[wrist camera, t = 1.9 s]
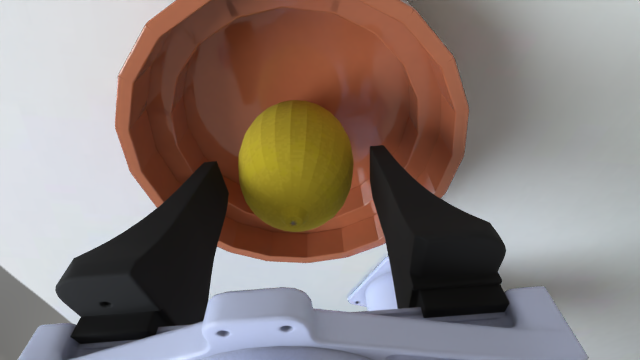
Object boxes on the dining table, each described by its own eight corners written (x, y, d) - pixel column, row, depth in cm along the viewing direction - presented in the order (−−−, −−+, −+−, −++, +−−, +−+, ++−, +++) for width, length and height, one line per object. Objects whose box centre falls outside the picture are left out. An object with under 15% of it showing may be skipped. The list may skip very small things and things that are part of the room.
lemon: (262, 61, 17) (235, 152, 11) (361, 93, 18) (388, 190, 12) (242, 146, 20) (213, 252, 14) (326, 167, 21) (334, 273, 15)
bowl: (501, 46, 17) (550, 82, 13) (353, 234, 26) (360, 283, 23) (180, -133, 12) (130, -148, 9) (140, 173, 22) (108, 223, 18)
